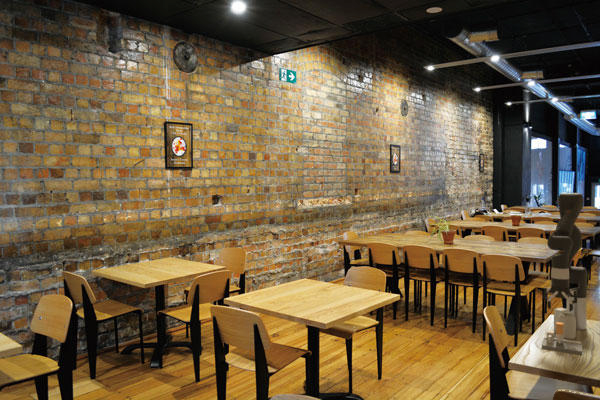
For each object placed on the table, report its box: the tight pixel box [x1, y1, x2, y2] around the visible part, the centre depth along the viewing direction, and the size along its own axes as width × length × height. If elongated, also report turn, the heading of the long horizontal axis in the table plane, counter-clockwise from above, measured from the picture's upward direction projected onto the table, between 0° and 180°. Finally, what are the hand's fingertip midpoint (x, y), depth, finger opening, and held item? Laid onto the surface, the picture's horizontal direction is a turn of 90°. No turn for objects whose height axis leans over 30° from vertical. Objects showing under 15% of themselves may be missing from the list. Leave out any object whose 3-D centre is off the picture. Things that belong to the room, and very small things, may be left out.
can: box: [559, 313, 577, 340], centre depth 227 cm, size 8×8×12 cm
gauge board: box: [541, 329, 583, 356], centre depth 213 cm, size 16×12×6 cm
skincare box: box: [553, 307, 568, 333], centre depth 236 cm, size 6×4×12 cm
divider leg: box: [555, 322, 565, 345], centre depth 214 cm, size 3×8×9 cm, turn 147°
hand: (559, 310), depth 215 cm, fingers open, 8 cm apart
